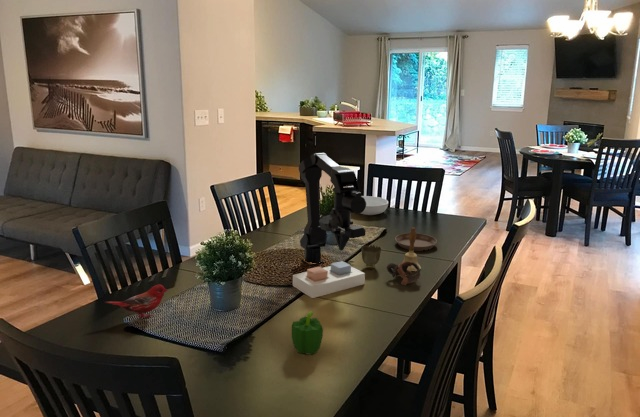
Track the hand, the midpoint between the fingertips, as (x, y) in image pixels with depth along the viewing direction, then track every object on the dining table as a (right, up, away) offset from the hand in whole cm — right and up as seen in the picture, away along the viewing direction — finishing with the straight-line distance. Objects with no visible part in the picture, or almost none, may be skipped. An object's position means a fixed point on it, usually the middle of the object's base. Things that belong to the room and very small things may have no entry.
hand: (341, 250), depth 177 cm
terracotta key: (-8, -9, -3) cm, 13 cm away
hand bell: (+27, -8, +18) cm, 33 cm away
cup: (+12, -8, +17) cm, 22 cm away
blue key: (0, -8, +2) cm, 8 cm away
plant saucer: (+34, -2, +44) cm, 55 cm away
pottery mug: (+22, -12, +6) cm, 26 cm away
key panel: (-4, -12, 0) cm, 13 cm away
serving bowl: (+18, +12, +94) cm, 97 cm away
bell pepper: (-11, -23, -42) cm, 49 cm away
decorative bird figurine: (-61, -18, -26) cm, 69 cm away
